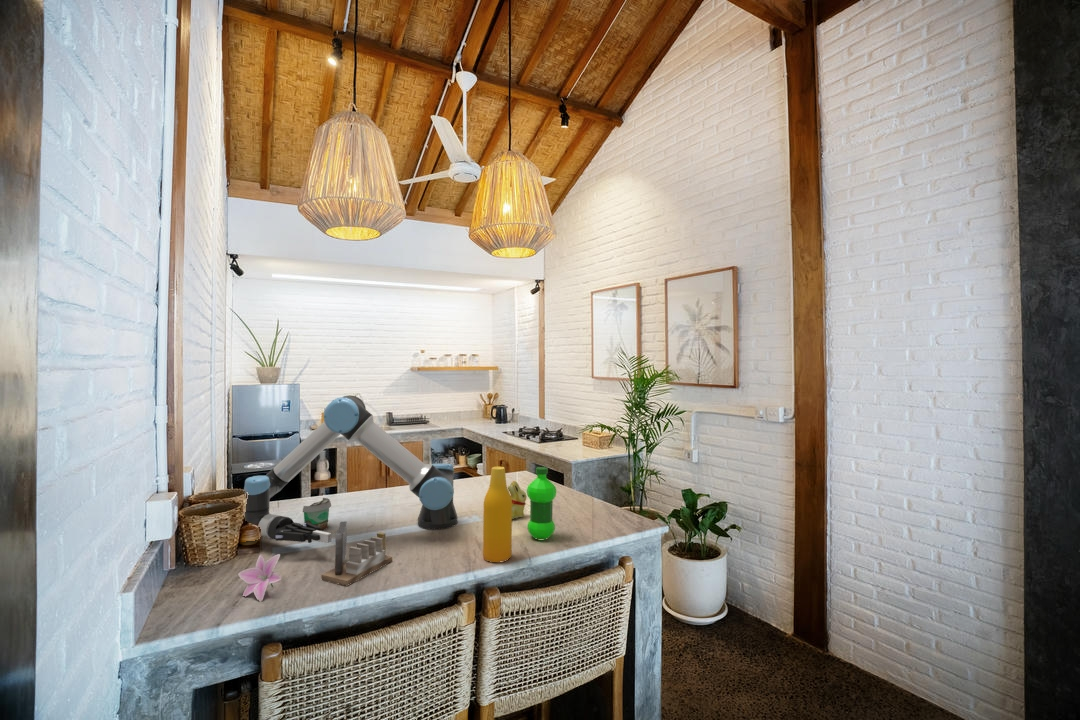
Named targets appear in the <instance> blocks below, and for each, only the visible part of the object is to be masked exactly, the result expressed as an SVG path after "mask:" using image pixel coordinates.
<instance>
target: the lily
mask: <svg viewBox="0 0 1080 720" xmlns="http://www.w3.org/2000/svg"><path fill="white" fill-rule="evenodd" d="M280 557H281V553H278V554H275V555H273V556H272V557H270V558H269V559H267V560H266V561H265V558H264V557H263V554H260V555H258V558H257V561H256V562H255V563H256V564H255V567H250V568H246V569H244V570H241V571H239V572H238V574H237V576H238V577H239V578H240V580H242V581H243V582H245V583H246V584H247V585H246V587H245V589H244V591H243V594H242V596H245V597H247V596H249V595H250V594H252V593H254V596H255V597H256V600H258V599H261V600H262V601H263V599H264V597H265V594H266V590H267V588H268V585H270V586H271V587H272V586H273V587H274V585H273V584H274V583H276V582H279V581H281V580H282V577H281V576H280V575H279V574H278V573H276V572H274V570H275V567H276V565H277V563H278V561H279V559H280Z"/></svg>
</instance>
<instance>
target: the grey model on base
mask: <svg viewBox="0 0 1080 720" xmlns="http://www.w3.org/2000/svg"><path fill="white" fill-rule="evenodd" d="M386 535H387V534H386V533H385V532H377V533H376V536H371V537H370V540H369V539H364V540H363V543H361V542H358V543H356V547H355V546H348V547H349V548H348V561H346V562H344V565H343V533H337V532H336V533H335V538H334V539H335V545H334V548H335V549H334V568H332V569H330V570H328V571H325V572H324V573H322V574H321V579H322V580H321V581H324V580H326V581H325V582H328V581H330V582H329V583H332V582H334V583H333V584H336V583H339V584H338V585H340V584H343V585H342V586H344V585H348V584H350V583H352V582H354V581H356V580H357V581H359V580H361V579H362V578H361V577H363V576H365V575H367V574H368V575H370V574H371V573H370V572H372V571H374V570H376V569H377V570H379V569H381V568H382V567H381V566H383V565H385V564H387V563H388V564H390V563H391V562H390V561H392V562H393V556H391V555H386V538H387V537H386ZM389 562H390V563H389ZM388 564H387V565H388ZM342 566H343V570H342ZM385 566H386V565H385ZM380 567H381V568H380ZM383 567H384V566H383ZM378 568H379V569H378ZM377 570H376V571H377ZM374 572H375V571H374ZM369 573H370V574H369ZM372 573H373V572H372ZM368 575H367V576H368ZM365 577H366V576H365ZM360 578H361V579H360ZM363 578H364V577H363ZM358 579H359V580H358ZM357 581H356V582H357ZM354 583H355V582H354ZM352 584H353V583H352ZM350 585H351V584H350ZM348 586H349V585H348Z"/></svg>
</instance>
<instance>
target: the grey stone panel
mask: <svg viewBox="0 0 1080 720" xmlns="http://www.w3.org/2000/svg"><path fill="white" fill-rule="evenodd" d="M347 522H348V521H340V522H339V526H338V528H337V532H336V534H337V533H343V565H344V563H345V559H346V555H347V525H348V523H347ZM342 570H343V566H342Z"/></svg>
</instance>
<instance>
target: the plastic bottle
mask: <svg viewBox="0 0 1080 720" xmlns="http://www.w3.org/2000/svg"><path fill="white" fill-rule="evenodd" d="M548 471H549V469H548V467H547V466H538V467H536V468H535V474H536V478H535V479H534V480H532V482H531V483H529V484H528V486H527V488H526V493H527V494H526V496H527V497H528V499H529V500H530V502H529V503H530V507H529V509H530V510H529V511H530V512H529V513H530V517H529V521H528V523H527V531H528V533H529V534H530V535H531V537H533V539H534V538H537V539H546V538H548V539H549V538H550V537H551V536H552V535H553V534H554V532H555V529H556V526H555V521H554V520H553V506H554V505H553V503H554V501H553V500H554V499H555V498H556V496H557V487H556V485H555V484H554V483H553V482H552V481H551V480H549V479H548V478H547V475H548V474H549V472H548Z"/></svg>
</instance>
